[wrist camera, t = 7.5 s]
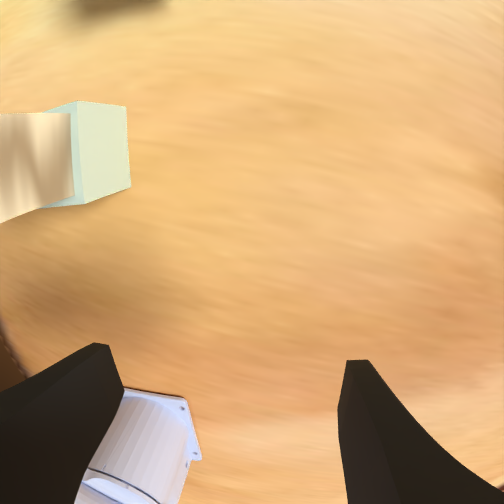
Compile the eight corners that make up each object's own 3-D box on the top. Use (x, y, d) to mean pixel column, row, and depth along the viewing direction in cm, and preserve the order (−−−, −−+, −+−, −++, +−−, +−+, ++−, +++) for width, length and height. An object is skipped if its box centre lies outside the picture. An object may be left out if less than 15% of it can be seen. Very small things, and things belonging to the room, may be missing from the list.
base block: (131, 186, 18) (84, 203, 13) (71, 193, 18) (21, 210, 14) (126, 106, 16) (77, 100, 12) (65, 121, 17) (13, 123, 12)
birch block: (74, 195, 13) (-1, 223, 8) (24, 199, 14) (-44, 225, 9) (70, 113, 12) (-9, 114, 7) (19, 128, 12) (-52, 137, 8)
